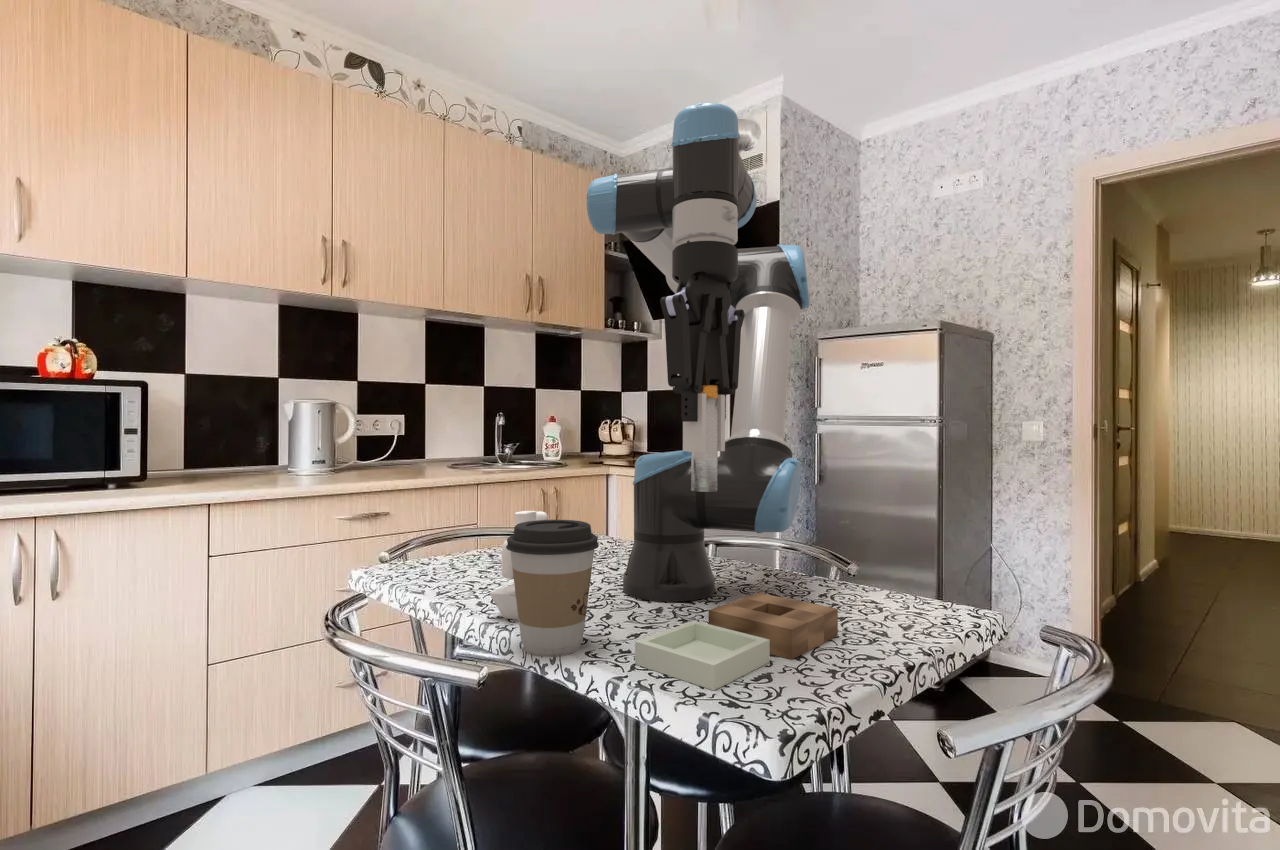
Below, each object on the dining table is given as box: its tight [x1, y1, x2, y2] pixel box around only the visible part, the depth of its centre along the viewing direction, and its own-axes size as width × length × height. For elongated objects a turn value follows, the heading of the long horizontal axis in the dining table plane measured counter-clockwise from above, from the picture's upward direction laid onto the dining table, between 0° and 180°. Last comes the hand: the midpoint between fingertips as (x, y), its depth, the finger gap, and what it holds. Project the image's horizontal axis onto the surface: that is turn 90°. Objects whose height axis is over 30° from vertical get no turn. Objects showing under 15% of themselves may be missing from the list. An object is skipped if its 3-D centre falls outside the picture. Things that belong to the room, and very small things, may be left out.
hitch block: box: [708, 592, 839, 661], centre depth 85 cm, size 12×12×4 cm
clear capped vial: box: [691, 384, 719, 492], centre depth 75 cm, size 3×3×12 cm
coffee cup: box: [506, 519, 599, 658], centre depth 81 cm, size 11×11×15 cm
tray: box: [634, 620, 771, 691], centre depth 75 cm, size 11×11×3 cm
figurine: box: [489, 510, 549, 621], centre depth 94 cm, size 7×9×15 cm
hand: (704, 450), depth 75 cm, fingers closed on clear capped vial, 3 cm apart
